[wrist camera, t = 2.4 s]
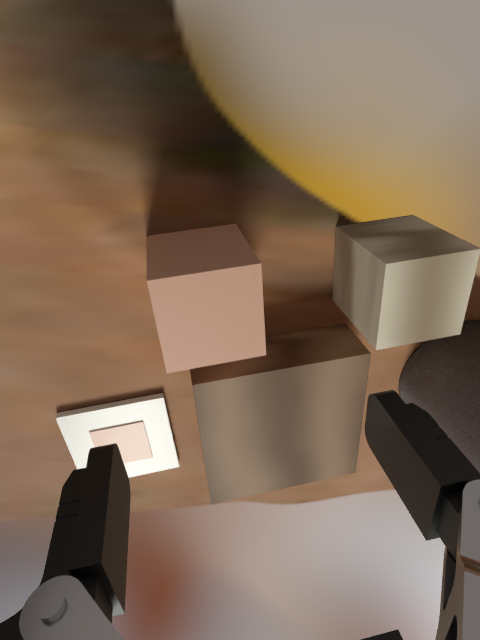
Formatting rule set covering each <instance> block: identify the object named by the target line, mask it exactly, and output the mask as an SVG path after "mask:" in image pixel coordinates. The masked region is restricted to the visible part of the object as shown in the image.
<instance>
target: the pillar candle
mask: <svg viewBox="0 0 480 640" xmlns="http://www.w3.org/2000/svg"><path fill="white" fill-rule="evenodd" d="M399 396H400V397H401V399H402V400H403V401H404V402H405V404H409V403H414V404H415V405H417V406H419V407H420V408H422V409H423V410H425V411H426V412H428V413H429V414H430V415H431V416H432V418H433V419H434V420H435V421H436V422H437V424H438V425H439V427H440V428H442V429H443V431H444V432H445V433H446V434H447V435H448V438H450V439H451V440H452V441H453V442H454V443H455V445H456V446H457V447H458V448H459V449H460V451H461V452H462V453H463V454H464V455H465V456H466V458H467V459H468V460H469V461H470V462H471V463H472V465H473V466H474V467H475V468H476V469H477V470H478V472H479V473H480V320H479V321H476V320H472V321H467V322H463V326H462V330H461V334H459V335H454V336H449V337H444V338H438V339H433V340H428V341H425V342H424V343H423V344H422V345H421V346H420V347H419V348H418V349H417V350H416V351H415V353H414V354H413V355H412V356H411V357H410V359H409V360H408V362H407V363H406V365H405V367H404V369H403V371H402V374H401V377H400V381H399Z"/></svg>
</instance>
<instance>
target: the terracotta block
mask: <svg viewBox="0 0 480 640" xmlns="http://www.w3.org/2000/svg"><path fill="white" fill-rule="evenodd" d="M147 284H148V288H149V293H150V298H151V302H152V307H153V312H154V316H155V321H156V325H157V330H158V335H159V339H160V344H161V349H162V353H163V358H164V363H165V367H166V372H167V373H172V372H177V371H183V370H188V369H194V368H199V367H205V366H210V365H216V364H221V363H227V362H232V361H237V360H243V359H248V358H254V357H259V356H265V355H266V341H265V322H264V303H263V285H262V266H261V262H260V260H259V259H258V257H257V256H256V254H255V253H254V251H253V250H252V248H251V246H250V245H249V243H248V242H247V240H246V239H245V237H244V236H243V234H242V232H241V231H240V229H239V228H238V226H237V225H236V224H229V225H222V226H215V227H208V228H200V229H193V230H186V231H179V232H172V233H164V234H157V235H150V236H147Z"/></svg>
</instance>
